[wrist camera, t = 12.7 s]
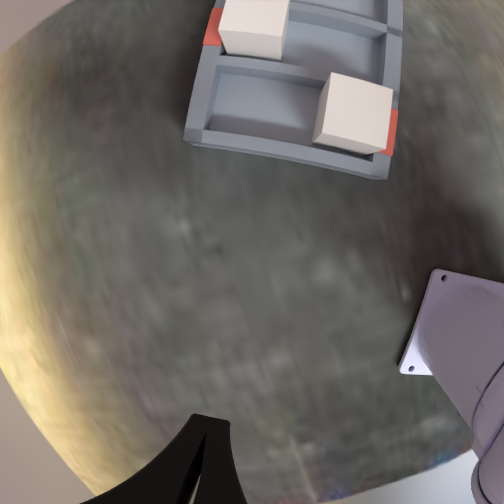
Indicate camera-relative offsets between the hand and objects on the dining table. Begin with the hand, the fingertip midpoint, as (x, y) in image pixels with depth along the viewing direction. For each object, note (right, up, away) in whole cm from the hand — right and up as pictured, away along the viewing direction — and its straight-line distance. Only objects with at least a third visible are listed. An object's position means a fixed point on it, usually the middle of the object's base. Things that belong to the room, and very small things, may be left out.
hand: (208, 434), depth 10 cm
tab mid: (+2, +19, +5) cm, 20 cm away
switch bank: (+5, +19, +6) cm, 20 cm away
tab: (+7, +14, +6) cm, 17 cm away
